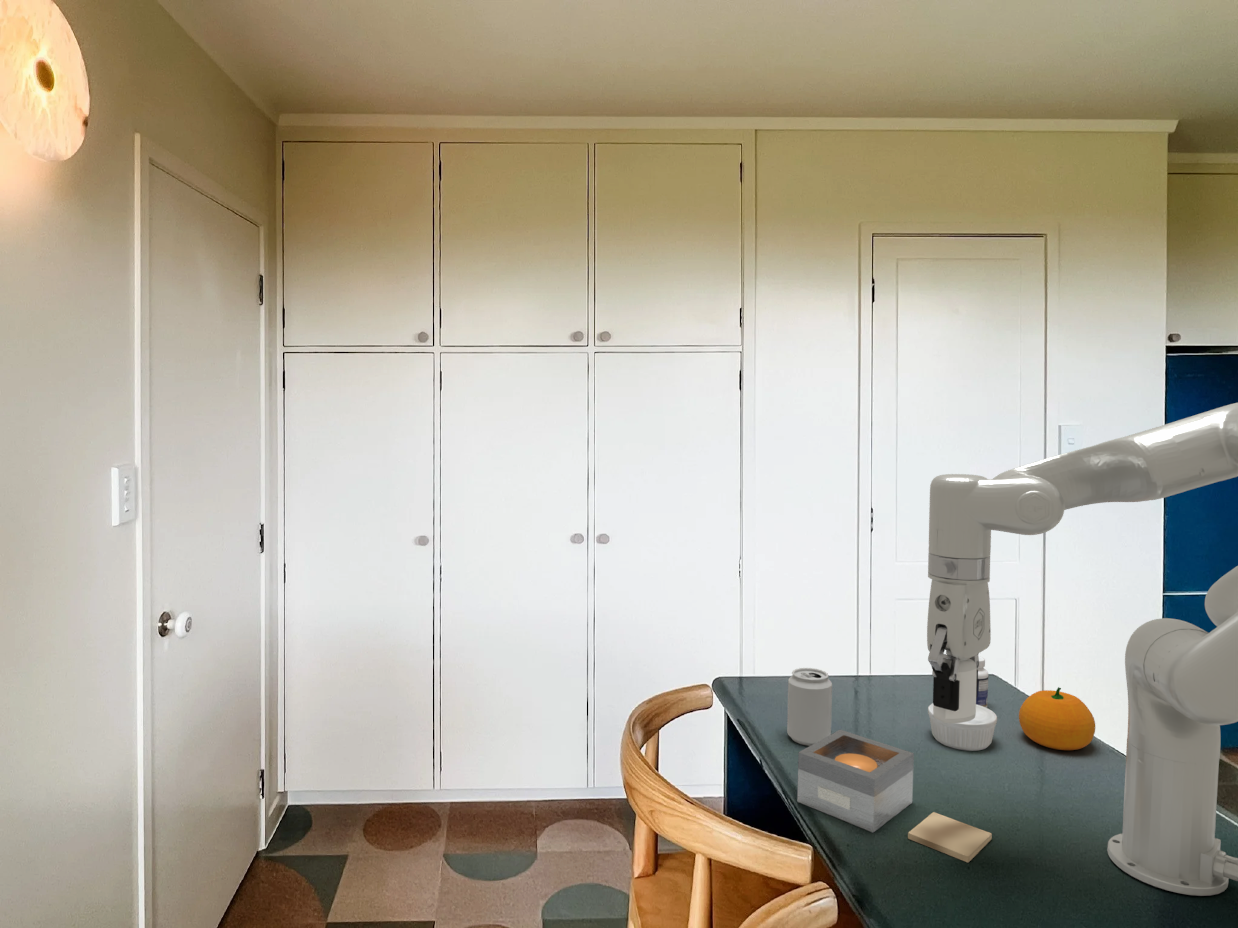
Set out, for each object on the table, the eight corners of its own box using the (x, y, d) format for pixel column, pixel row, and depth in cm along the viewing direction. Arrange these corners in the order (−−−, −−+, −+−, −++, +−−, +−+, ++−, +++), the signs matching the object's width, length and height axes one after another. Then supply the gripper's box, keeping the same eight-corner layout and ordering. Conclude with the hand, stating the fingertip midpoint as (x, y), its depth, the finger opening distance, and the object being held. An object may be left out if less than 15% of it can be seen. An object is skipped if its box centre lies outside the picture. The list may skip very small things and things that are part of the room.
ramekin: (931, 750, 135) (932, 720, 134) (923, 725, 145) (924, 697, 145) (1002, 757, 132) (1004, 727, 131) (988, 731, 143) (989, 703, 142)
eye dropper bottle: (981, 726, 103) (983, 635, 102) (936, 723, 103) (938, 633, 103) (972, 713, 107) (974, 626, 106) (928, 710, 108) (930, 624, 107)
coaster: (991, 839, 106) (991, 833, 106) (968, 862, 101) (968, 856, 100) (933, 817, 112) (933, 811, 112) (907, 838, 106) (908, 832, 106)
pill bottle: (951, 703, 156) (952, 655, 155) (969, 699, 158) (971, 651, 158) (974, 713, 151) (976, 663, 151) (993, 708, 154) (995, 659, 153)
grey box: (912, 802, 116) (913, 753, 116) (872, 833, 107) (873, 780, 107) (838, 775, 125) (840, 729, 124) (796, 802, 116) (797, 752, 115)
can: (839, 744, 137) (841, 676, 136) (803, 750, 134) (804, 681, 133) (813, 727, 144) (815, 663, 143) (778, 733, 141) (780, 668, 140)
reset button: (883, 798, 116) (884, 762, 116) (863, 813, 112) (864, 775, 111) (846, 784, 120) (847, 749, 120) (826, 798, 116) (827, 762, 116)
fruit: (1103, 743, 138) (1105, 687, 137) (1082, 763, 130) (1085, 704, 129) (1031, 724, 146) (1033, 671, 145) (1007, 742, 138) (1010, 686, 137)
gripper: (961, 581, 95) (957, 728, 96) (1011, 562, 107) (1008, 693, 108) (901, 573, 100) (899, 711, 102) (956, 556, 113) (953, 680, 114)
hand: (955, 700), depth 105 cm, fingers closed on eye dropper bottle, 5 cm apart
